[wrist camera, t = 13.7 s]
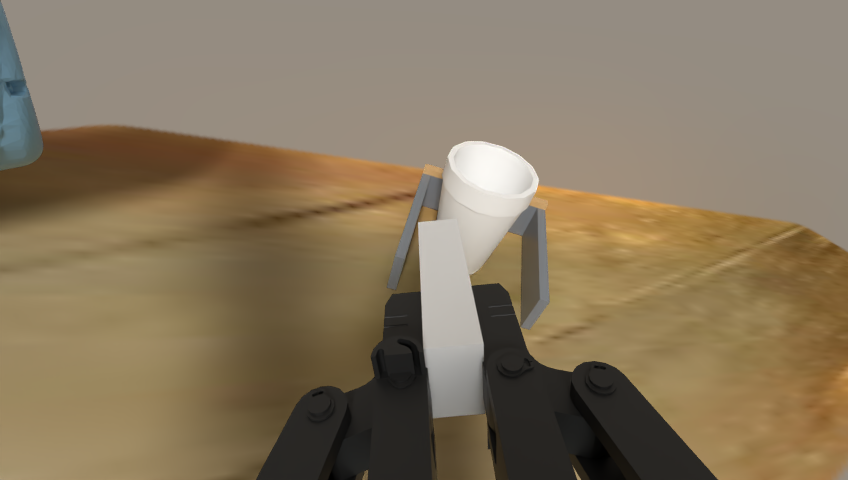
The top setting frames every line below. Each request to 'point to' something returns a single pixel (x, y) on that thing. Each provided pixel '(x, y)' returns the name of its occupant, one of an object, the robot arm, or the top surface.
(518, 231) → the box
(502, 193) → the foam cup
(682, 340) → the top surface
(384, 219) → the top surface
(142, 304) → the top surface
